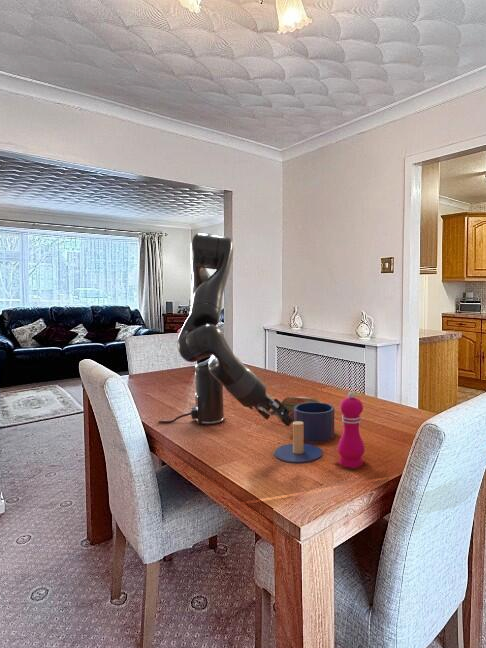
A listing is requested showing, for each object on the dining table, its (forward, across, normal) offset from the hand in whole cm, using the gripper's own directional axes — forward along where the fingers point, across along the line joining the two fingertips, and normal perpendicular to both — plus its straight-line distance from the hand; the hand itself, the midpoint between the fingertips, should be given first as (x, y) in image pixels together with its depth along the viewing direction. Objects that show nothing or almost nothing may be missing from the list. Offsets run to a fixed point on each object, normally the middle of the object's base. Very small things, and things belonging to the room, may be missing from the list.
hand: (278, 419), depth 122 cm
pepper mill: (+18, -14, 0) cm, 23 cm away
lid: (+13, 0, +3) cm, 13 cm away
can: (+24, +8, -7) cm, 26 cm away
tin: (+30, +23, -13) cm, 40 cm away
